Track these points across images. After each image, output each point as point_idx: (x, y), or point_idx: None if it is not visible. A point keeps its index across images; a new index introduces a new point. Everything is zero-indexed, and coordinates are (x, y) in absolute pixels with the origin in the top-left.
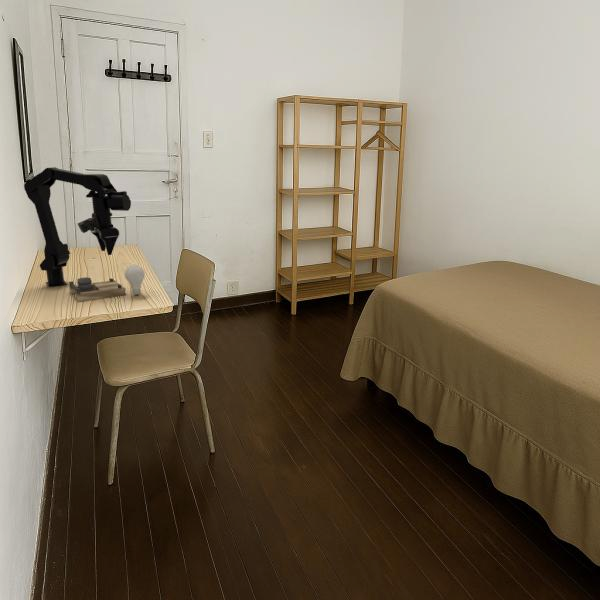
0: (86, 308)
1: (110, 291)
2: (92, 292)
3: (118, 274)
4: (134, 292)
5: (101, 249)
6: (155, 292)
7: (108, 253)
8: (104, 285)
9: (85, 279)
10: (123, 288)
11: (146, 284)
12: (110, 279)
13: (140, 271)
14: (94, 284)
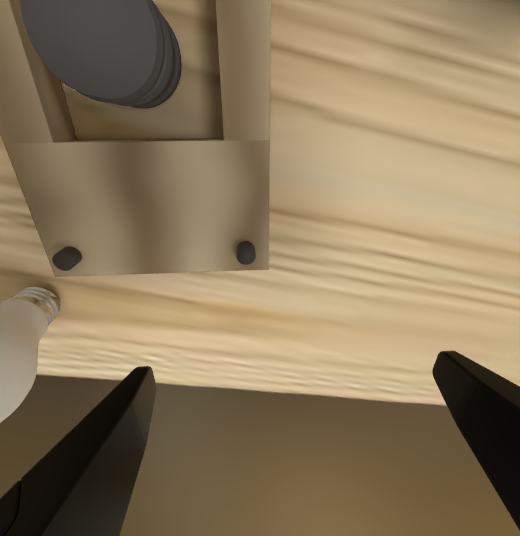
0: None
1: (30, 196)
2: None
3: (479, 311)
4: (14, 296)
5: (454, 362)
6: (76, 361)
7: (124, 385)
8: (165, 193)
9: (59, 33)
10: (53, 268)
11: (227, 361)
12: (239, 249)
13: None
14: (222, 142)
